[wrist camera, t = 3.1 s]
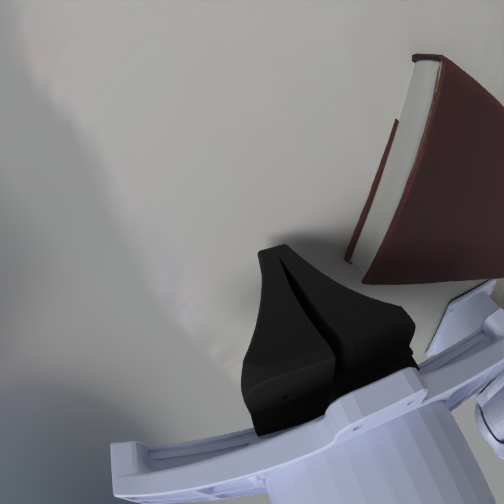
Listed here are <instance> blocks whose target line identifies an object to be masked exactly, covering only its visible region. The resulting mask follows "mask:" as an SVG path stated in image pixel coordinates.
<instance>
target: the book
mask: <svg viewBox="0 0 504 504" xmlns="http://www.w3.org/2000/svg"><path fill="white" fill-rule="evenodd" d="M412 61H413V62H415V67H414V71H413V75H412V78H411V82H410V86H409V89H408V93H407V96H406V100H405V103H404V107H403V110H402V114H401V117H400V121H398V120H397V119H395V122H394V125H393V128H392V131H391V134H390V138H389V141H388V144H387V146H386V149H385V151H384V154H383V157H382V159H381V163H380V166H379V169H378V171H377V174H376V176H375V179H374V182H373V184H372V187H371V191H370V194H369V197H368V199H367V202H366V204H365V206H364V209H363V211H362V213H361V216H360V219H359V222H358V224H357V226H356V229H355V231H354V234H353V237H352V239H351V242H350V244H349V247H348V250H347V253H346V257H345V261H346V262H347V263H348V264H349V265H350V264H351V263H354V264H355V265H356V266H357V267H358V268H359V269H360V270H361V272H362V273H363V275H364V278H363V279H362V283H363V284H369V285H400V284H423V283H436V282H447V281H465V280H478V279H497V278H503V277H504V107H503V106H502V105H501V103H500V102H499V101H498V100H497V99H496V98H495V97H493V96H492V95H491V94H490V93H489V92H488V91H487V90H486V89H485V88H484V87H482V86H481V85H480V84H479V83H478V82H477V81H476V80H475V79H473V78H472V77H471V76H470V75H468V74H467V73H466V72H465V71H463V70H462V69H461V68H460V67H458V66H457V65H456V64H455V63H453V62H452V61H451V60H449V59H448V58H446V57H444V56H443V55H435V54H415V55H412Z"/></svg>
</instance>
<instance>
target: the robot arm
mask: <svg viewBox="0 0 504 504" xmlns="http://www.w3.org/2000/svg"><path fill="white" fill-rule="evenodd" d="M258 258H259V263H260V269H261V274H262V289H261V301H260V308H259V314H258V318H257V323H256V327H255V330H254V334H253V337H252V340H251V343H250V346H249V348H248V351H247V353H246V355H245V358H244V360H243V367H242V375H241V391H242V395H243V398H244V402H245V405H246V406H247V408H248V410H249V412H250V414H251V418H252V421H253V425H254V428H250V429H246V430H242V431H238V432H234V433H229V434H224V435H220V436H215V437H210V438H204V439H199V440H193V441H187V442H181V443H174V444H167V445H160V446H150V447H147V446H146V445H144V444H143V443H141V442H136V441H129V442H116V443H111V463H112V480H113V493H114V496H115V497H119V498H122V499H125V500H130V501H133V502H137V503H142V504H162V503H184V502H198V501H210V500H219V499H227V498H234V497H241V496H247V495H254V494H259V493H264V492H267V493H268V496H269V499H270V503H271V504H496V502H495V499H494V497H493V495H492V493H491V490H490V488H489V486H488V484H487V481H486V479H485V477H484V475H483V473H482V471H481V469H480V467H479V465H478V463H477V461H476V459H475V457H474V455H473V453H472V451H471V449H470V447H469V445H468V443H467V441H466V439H465V438H464V436H463V434H462V432H461V430H460V428H459V426H458V425H457V423H456V421H455V419H454V417H453V416H452V414H451V411H452V410H454V409H455V408H457V407H458V406H459V405H461V404H462V403H463V402H465V401H466V400H467V399H469V398H474V397H476V400H477V404H476V406H475V420H476V424H477V426H478V429H479V431H480V433H481V434H482V436H483V437H484V439H485V440H486V441H487V442H488V443H489V444H490V445H491V446H492V448H493V449H494V451H495V453H496V455H497V456H499V458H500V459H504V310H503V309H502V308H500V307H499V306H498V305H497V304H496V303H495V302H494V300H493V299H492V298H491V297H490V295H491V292H492V290H493V288H494V286H495V284H496V282H497V280H496V279H491V280H489V281H488V282H486V283H484V284H482V285H481V286H479V287H477V288H475V289H474V290H472V291H470V292H468V293H467V294H465V295H463V296H461V297H459V298H457V299H455V300H454V301H452V302H451V303H450V304H449V305H448V308H447V310H446V312H445V315H444V317H443V319H442V321H441V324H440V326H439V328H438V330H437V332H436V334H435V336H434V339H433V341H432V343H431V345H430V347H429V349H428V351H427V353H426V355H427V357H429V356H431V355H434V356H433V357H431V358H430V359H428V360H426V361H424V362H422V363H420V364H418V365H417V363H416V362H415V360H414V359H413V357H412V355H413V351H412V349H411V348H410V346H409V345H410V342H411V340H412V338H413V335H414V332H415V328H416V327H415V323H414V322H413V320H412V319H411V317H410V316H409V315H408V314H407V312H406V311H405V310H404V309H403V308H402V307H401V306H397V305H393V304H389V303H385V302H382V301H378V300H376V299H373V298H370V297H367V296H364V295H362V294H360V293H357V292H355V291H353V290H350V289H348V288H346V287H344V286H343V285H341V284H339V283H337V282H335V281H334V280H332V279H330V278H329V277H327V276H326V275H324V274H323V273H321V272H320V271H318V270H317V269H316V268H314V267H313V266H312V265H310V264H309V263H308V262H306V261H305V260H304V259H303V258H301V257H300V256H299V255H298V254H297V253H296V252H294V251H293V250H292V249H291V248H290V247H289V246H288V245H286V244H283V245H279V246H275V247H272V248H268V249H265V250H261V251H259V252H258Z"/></svg>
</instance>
